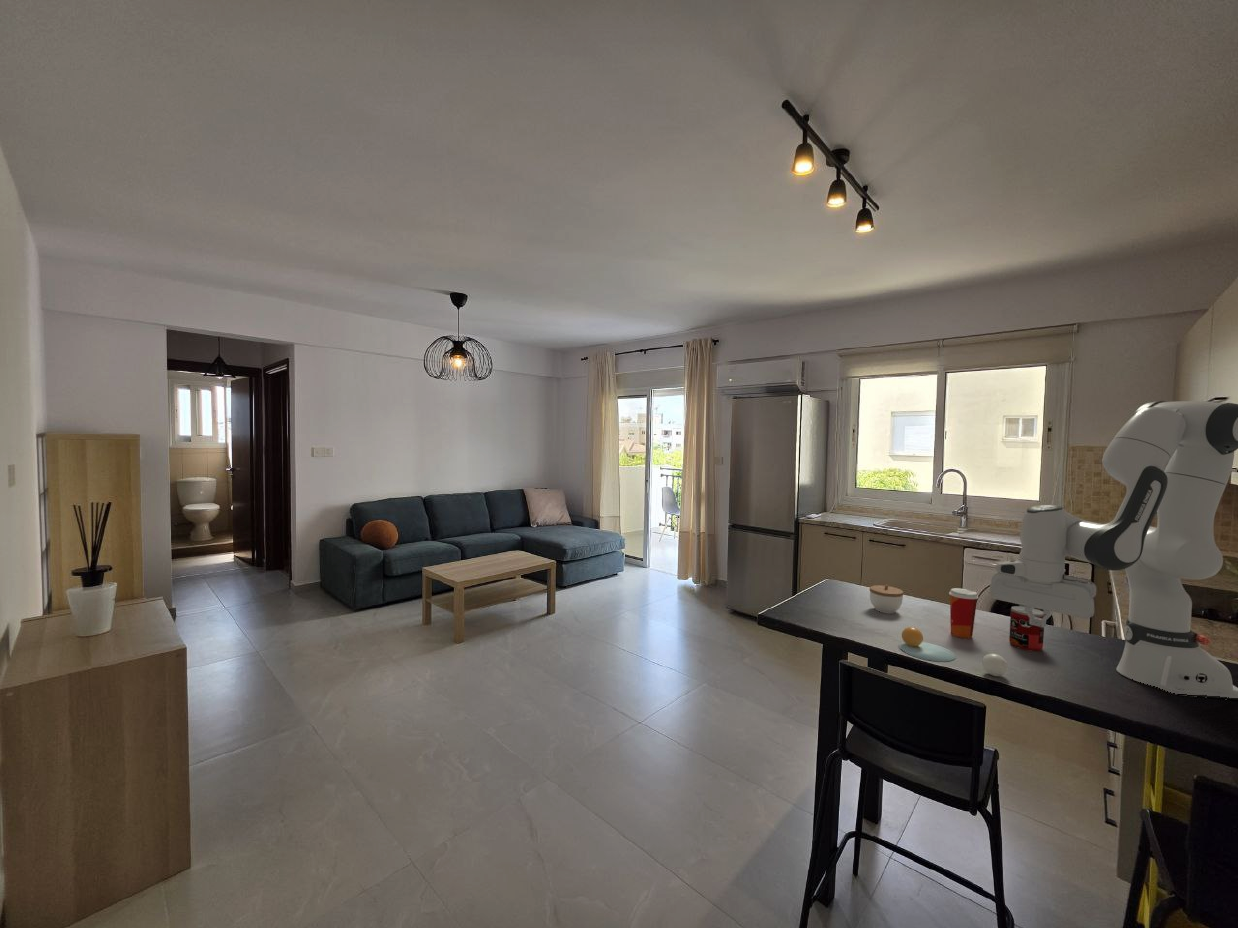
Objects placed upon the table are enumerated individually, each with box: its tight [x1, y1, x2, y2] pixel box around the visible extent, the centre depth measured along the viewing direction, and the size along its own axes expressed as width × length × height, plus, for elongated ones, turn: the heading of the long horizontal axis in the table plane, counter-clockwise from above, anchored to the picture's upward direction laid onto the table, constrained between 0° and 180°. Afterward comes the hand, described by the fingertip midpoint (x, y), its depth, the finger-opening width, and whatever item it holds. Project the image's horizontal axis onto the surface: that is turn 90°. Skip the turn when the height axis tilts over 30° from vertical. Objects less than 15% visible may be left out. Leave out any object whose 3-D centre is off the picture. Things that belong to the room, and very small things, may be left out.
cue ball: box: [981, 653, 1009, 677], centre depth 135 cm, size 6×6×6 cm
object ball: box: [901, 626, 924, 647], centre depth 153 cm, size 6×6×6 cm
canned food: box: [1008, 605, 1046, 652], centre depth 155 cm, size 8×8×11 cm
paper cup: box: [948, 587, 979, 639], centre depth 162 cm, size 8×8×14 cm
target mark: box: [898, 641, 956, 663], centre depth 149 cm, size 14×14×1 cm
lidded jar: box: [869, 584, 904, 615], centre depth 185 cm, size 11×11×9 cm
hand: (1037, 625), depth 129 cm, fingers closed
